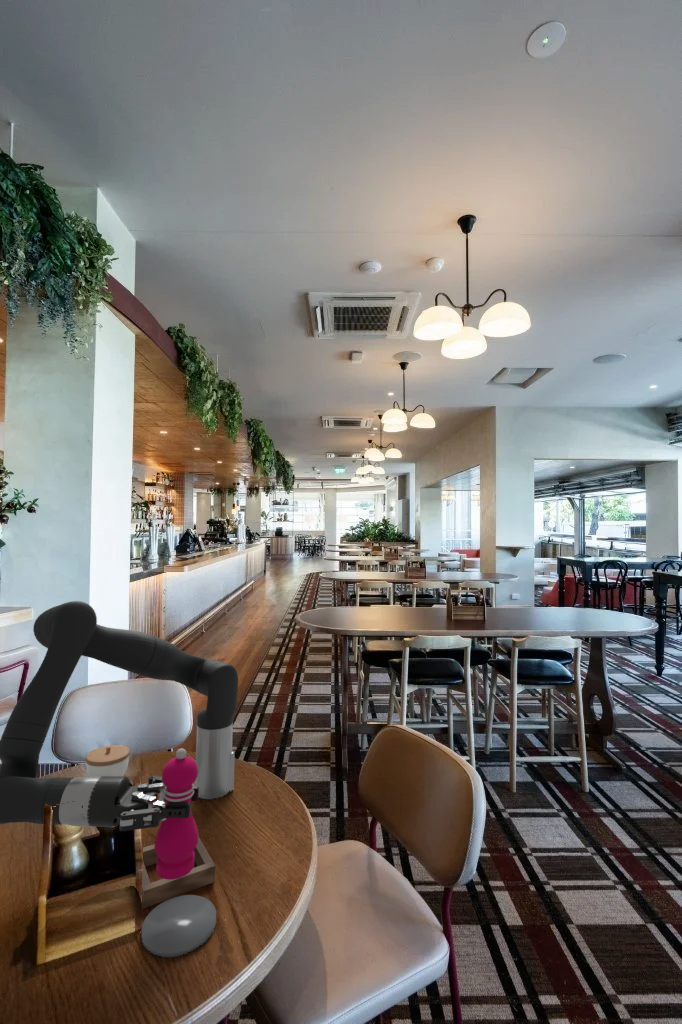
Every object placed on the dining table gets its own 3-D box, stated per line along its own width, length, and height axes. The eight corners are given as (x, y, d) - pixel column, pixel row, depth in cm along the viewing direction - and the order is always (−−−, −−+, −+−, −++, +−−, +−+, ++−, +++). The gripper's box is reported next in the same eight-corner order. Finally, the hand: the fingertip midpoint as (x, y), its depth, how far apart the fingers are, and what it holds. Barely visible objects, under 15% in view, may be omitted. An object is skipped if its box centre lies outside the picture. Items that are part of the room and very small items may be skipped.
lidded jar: (135, 781, 130) (137, 746, 131) (94, 797, 122) (96, 759, 123) (117, 769, 137) (119, 735, 138) (77, 783, 129) (79, 747, 130)
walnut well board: (195, 845, 103) (195, 831, 103) (214, 881, 92) (215, 865, 92) (130, 866, 96) (130, 851, 96) (142, 908, 85) (143, 891, 85)
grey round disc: (204, 891, 90) (204, 886, 90) (225, 936, 80) (226, 929, 80) (135, 918, 83) (135, 911, 83) (149, 970, 73) (149, 963, 73)
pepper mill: (205, 860, 85) (210, 744, 87) (178, 886, 79) (185, 761, 80) (172, 850, 88) (178, 737, 89) (143, 875, 81) (150, 753, 82)
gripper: (76, 800, 77) (183, 801, 77) (115, 760, 91) (205, 761, 92) (73, 849, 76) (181, 849, 77) (112, 801, 90) (203, 801, 91)
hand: (194, 801), depth 84 cm, fingers closed on pepper mill, 4 cm apart
